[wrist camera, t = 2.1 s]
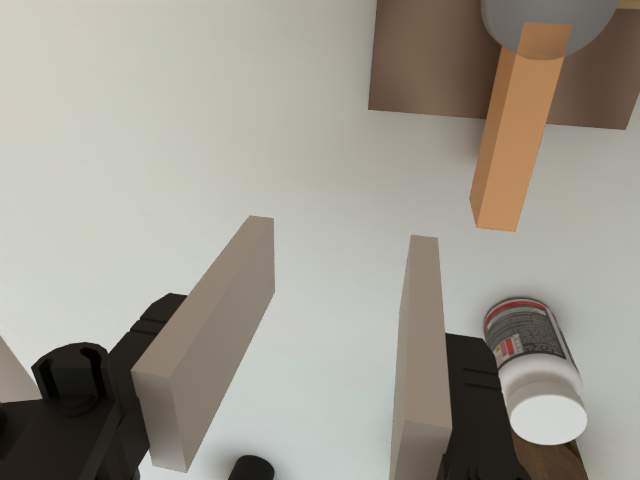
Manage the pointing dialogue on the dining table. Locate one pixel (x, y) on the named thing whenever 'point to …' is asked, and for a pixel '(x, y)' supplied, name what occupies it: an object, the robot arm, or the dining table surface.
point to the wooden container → (549, 459)
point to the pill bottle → (536, 372)
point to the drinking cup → (252, 469)
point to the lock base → (495, 65)
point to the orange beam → (525, 94)
